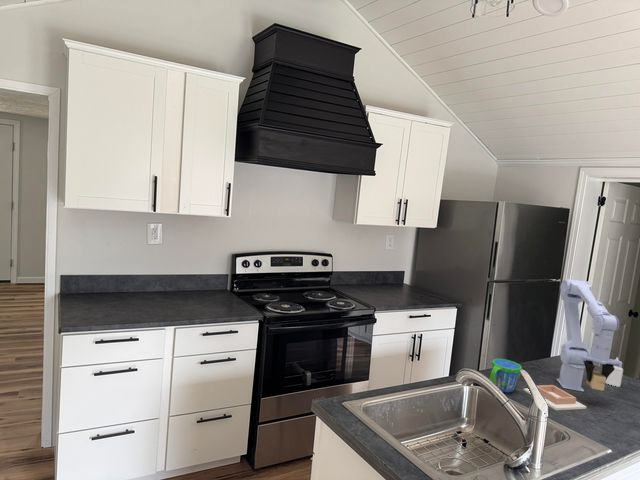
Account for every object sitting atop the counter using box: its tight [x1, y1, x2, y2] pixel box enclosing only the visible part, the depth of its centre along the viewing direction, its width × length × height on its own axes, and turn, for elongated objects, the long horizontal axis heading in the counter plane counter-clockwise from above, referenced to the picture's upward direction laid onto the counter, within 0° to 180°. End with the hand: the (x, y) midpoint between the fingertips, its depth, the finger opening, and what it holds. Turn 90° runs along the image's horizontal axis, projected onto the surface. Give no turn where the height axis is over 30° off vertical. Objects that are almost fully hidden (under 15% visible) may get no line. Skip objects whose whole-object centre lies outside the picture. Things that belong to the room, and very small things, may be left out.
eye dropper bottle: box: [605, 357, 624, 388], centre depth 194 cm, size 4×6×12 cm
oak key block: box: [585, 370, 606, 392], centre depth 171 cm, size 6×4×5 cm, turn 167°
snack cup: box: [488, 358, 523, 393], centre depth 176 cm, size 16×10×10 cm
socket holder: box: [523, 384, 587, 411], centre depth 172 cm, size 16×14×3 cm
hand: (595, 381), depth 171 cm, fingers closed on oak key block, 4 cm apart
